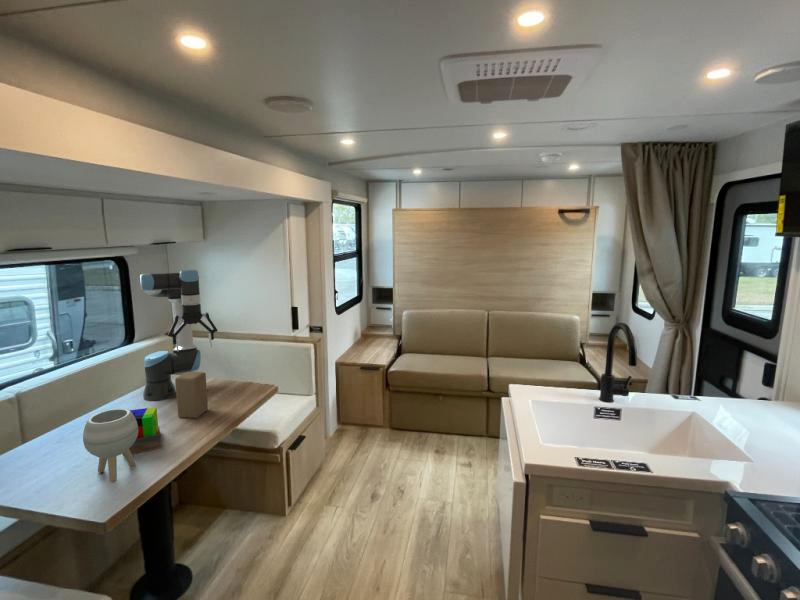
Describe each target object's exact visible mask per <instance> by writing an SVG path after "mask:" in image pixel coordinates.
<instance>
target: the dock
mask: <svg viewBox="0 0 800 600" xmlns="http://www.w3.org/2000/svg"><path fill="white" fill-rule="evenodd" d="M160 428H161V427H160V425H158V431H157V433H156V435H152V436H148V437H143V438H139V439H136V441H135V442H134V444H133V445H132V446H131V447H130V448H129V449H130V452H131V454H132V455H135V454H139V453H144V452H148V451H152V450H156V449H160V448H162V438H161V429H160Z"/></svg>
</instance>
